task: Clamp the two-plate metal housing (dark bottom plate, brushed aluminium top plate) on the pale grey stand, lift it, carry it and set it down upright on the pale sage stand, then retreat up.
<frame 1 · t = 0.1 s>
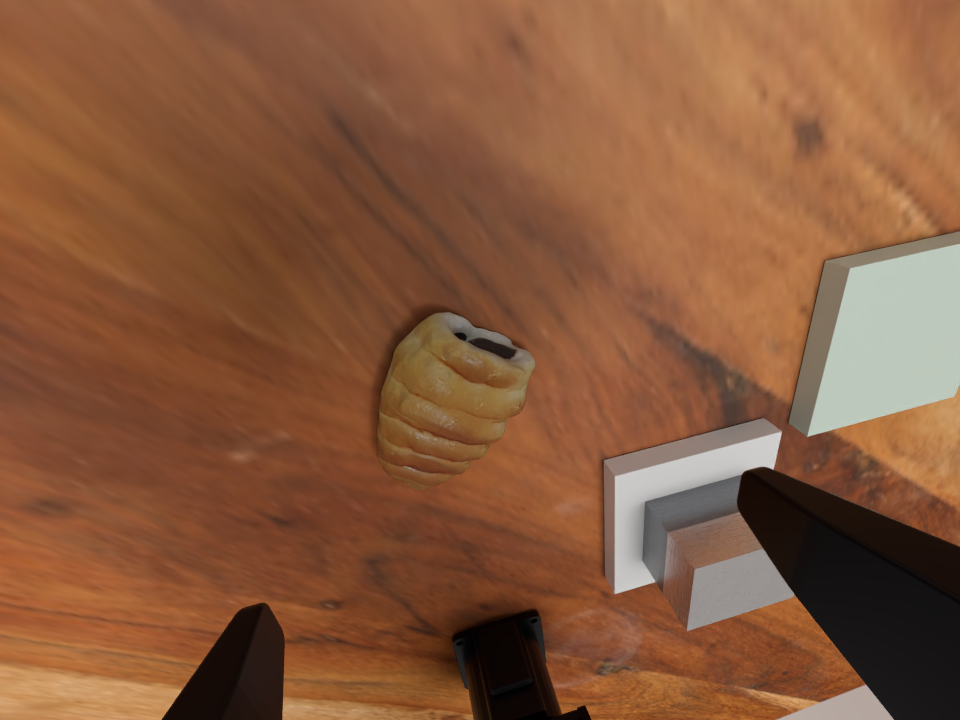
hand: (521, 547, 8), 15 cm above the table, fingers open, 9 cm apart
stand b: (883, 330, 28), on the table
stand a: (679, 501, 32), on the table
pastry: (448, 384, 24), on the table
housing: (692, 518, 30), point 1 cm above the table, touching stand a
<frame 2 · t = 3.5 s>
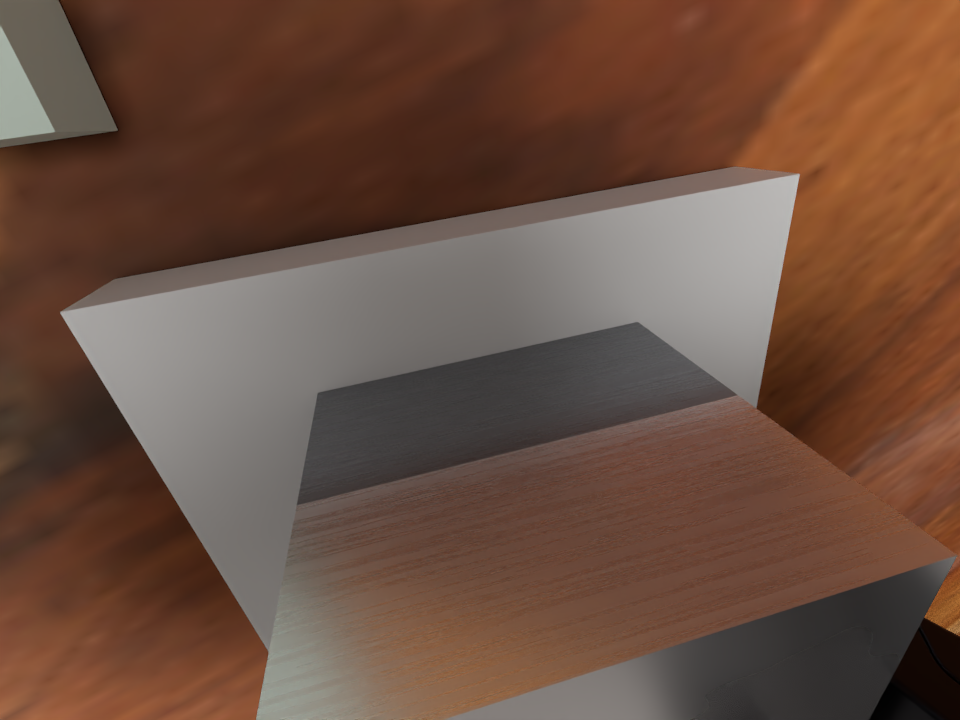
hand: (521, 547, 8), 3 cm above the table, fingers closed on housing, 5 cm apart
stand a: (489, 459, 11), on the table
housing: (506, 506, 9), point 1 cm above the table, touching gripper, stand a
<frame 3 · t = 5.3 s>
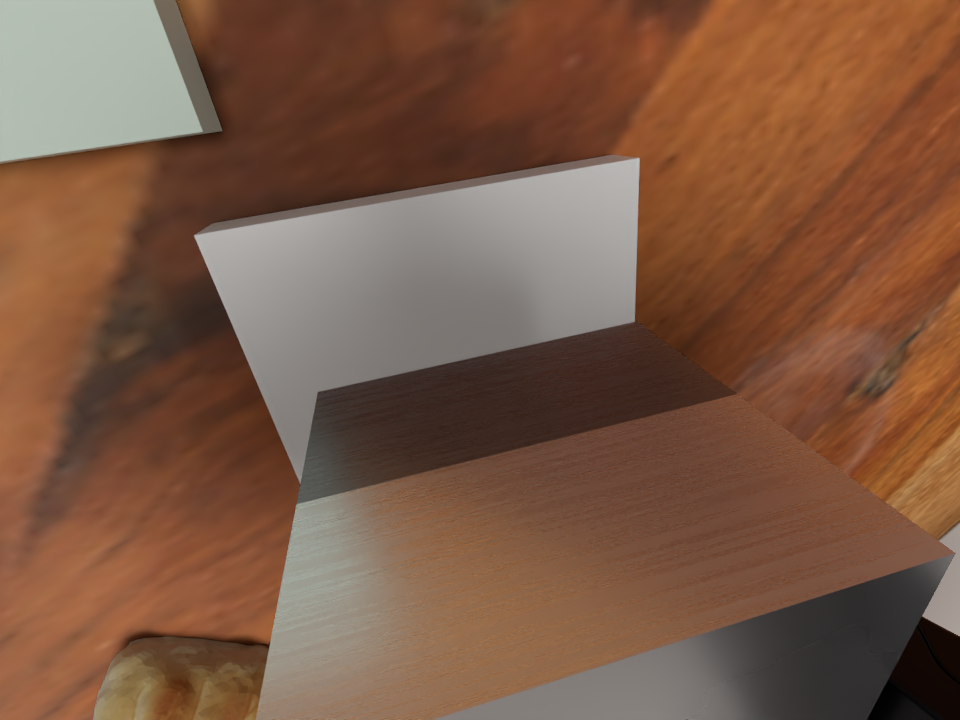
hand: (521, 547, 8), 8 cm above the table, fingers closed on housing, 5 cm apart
stand a: (455, 362, 15), on the table
pastry: (218, 672, 20), on the table
housing: (506, 506, 9), point 7 cm above the table, touching gripper
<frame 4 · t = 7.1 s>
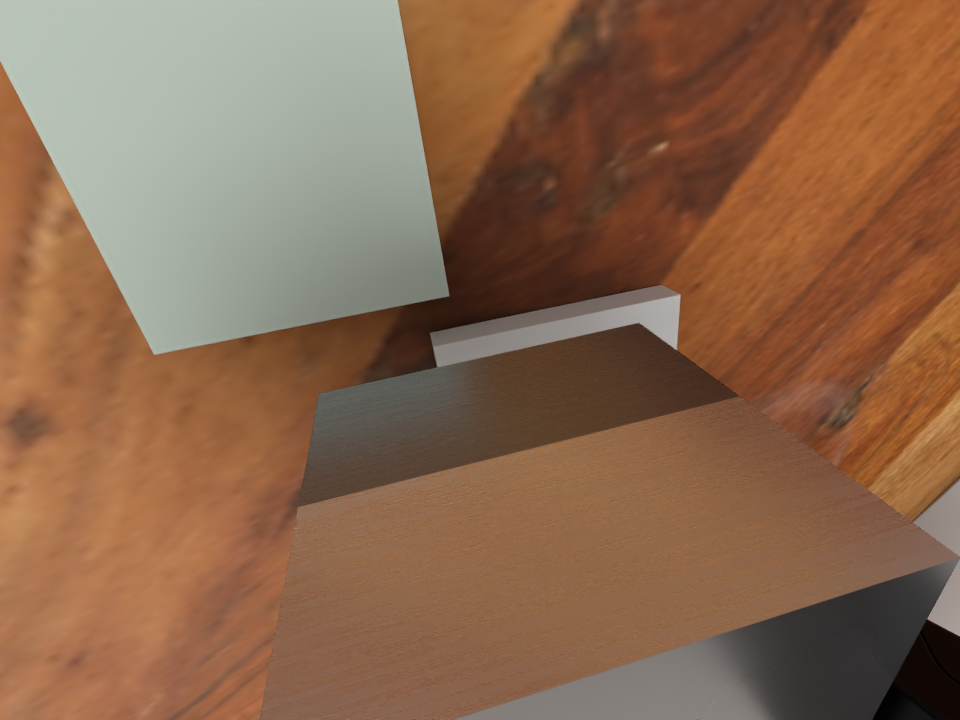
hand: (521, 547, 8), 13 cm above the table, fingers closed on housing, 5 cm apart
stand b: (264, 166, 16), on the table
stand a: (556, 408, 23), on the table
housing: (507, 507, 9), point 12 cm above the table, touching gripper
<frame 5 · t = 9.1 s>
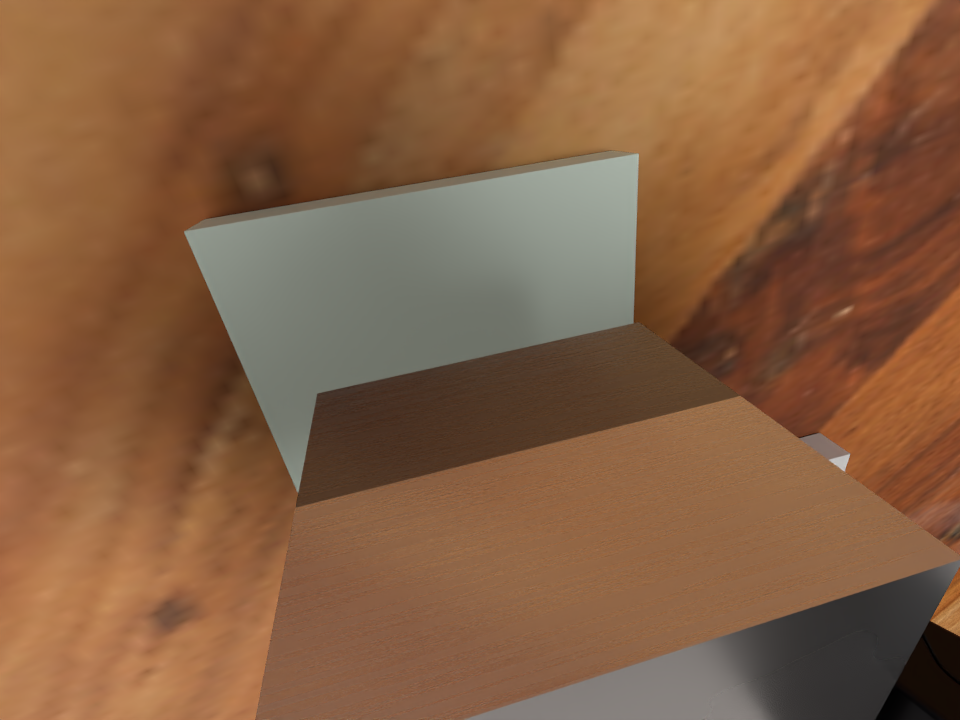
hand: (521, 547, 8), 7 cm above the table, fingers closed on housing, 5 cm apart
stand b: (452, 361, 15), on the table
stand a: (695, 549, 22), on the table
housing: (507, 507, 9), point 7 cm above the table, touching gripper
when the fingers open (4 cm above the table, at t = 10.8 s): housing drops 1 cm, resting on stand b.
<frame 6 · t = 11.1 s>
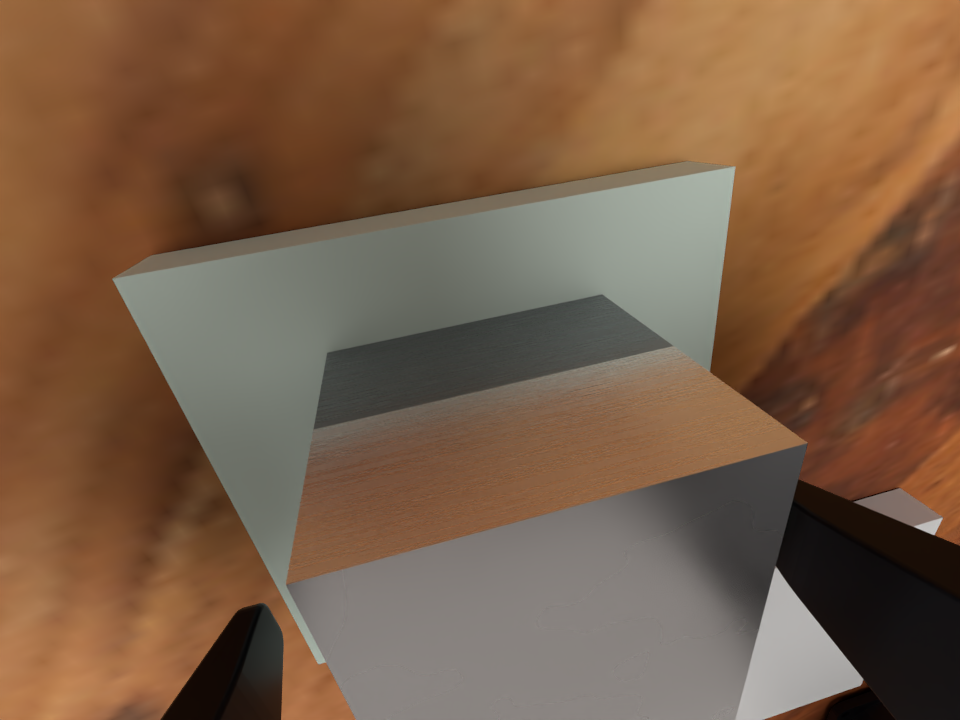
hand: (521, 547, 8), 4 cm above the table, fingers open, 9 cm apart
stand b: (475, 423, 12), on the table
stand a: (748, 617, 19), on the table
housing: (491, 460, 11), point 1 cm above the table, touching stand b
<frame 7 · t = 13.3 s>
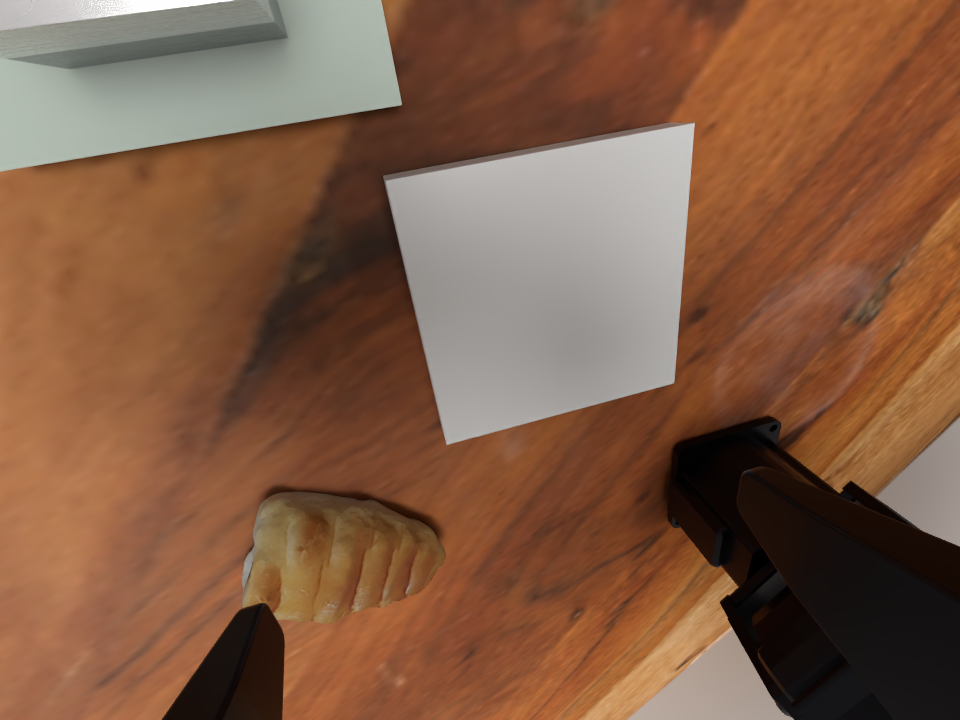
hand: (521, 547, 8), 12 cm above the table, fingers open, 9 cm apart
stand a: (543, 289, 19), on the table
pastry: (336, 530, 24), on the table
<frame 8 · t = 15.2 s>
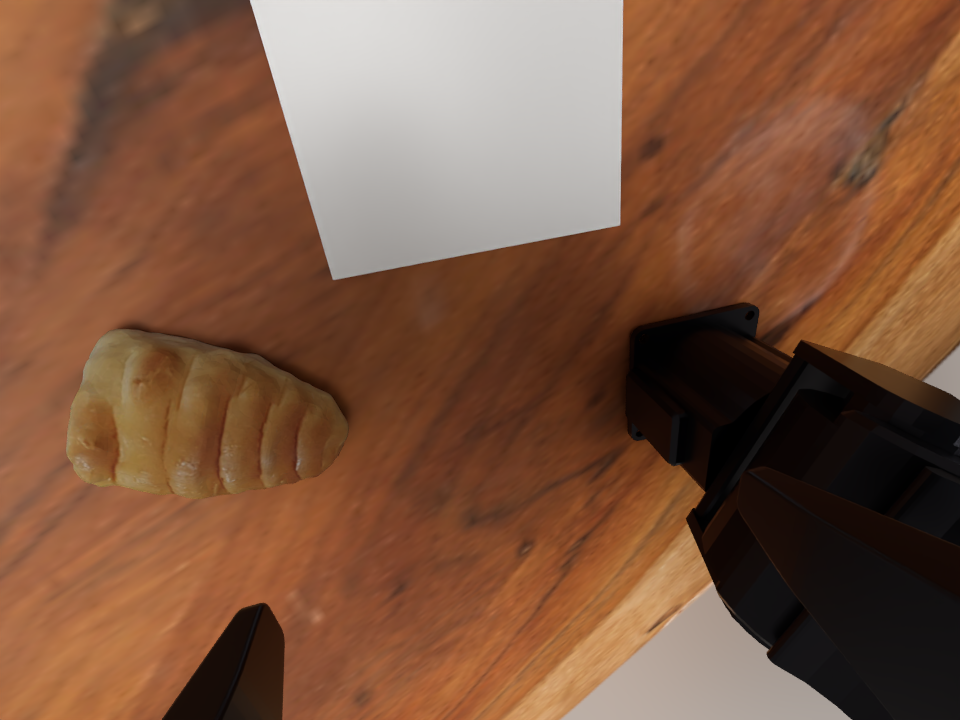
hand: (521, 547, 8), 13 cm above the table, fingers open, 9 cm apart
stand a: (452, 83, 16), on the table
pastry: (218, 398, 20), on the table
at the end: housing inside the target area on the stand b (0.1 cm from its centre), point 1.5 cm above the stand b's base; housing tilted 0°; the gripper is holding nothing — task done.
